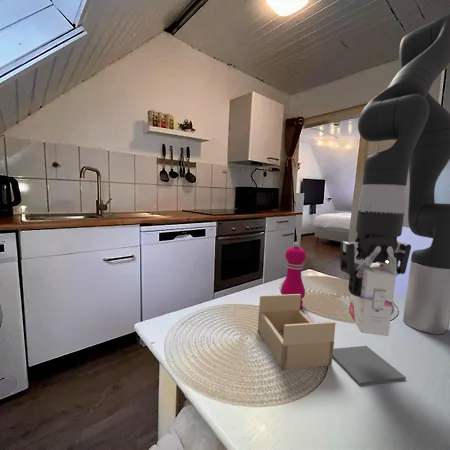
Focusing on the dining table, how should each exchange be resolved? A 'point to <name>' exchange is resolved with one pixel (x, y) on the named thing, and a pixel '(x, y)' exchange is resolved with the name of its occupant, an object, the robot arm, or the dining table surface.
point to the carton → (294, 333)
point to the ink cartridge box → (375, 298)
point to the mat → (365, 365)
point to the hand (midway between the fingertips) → (369, 294)
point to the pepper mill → (294, 272)
